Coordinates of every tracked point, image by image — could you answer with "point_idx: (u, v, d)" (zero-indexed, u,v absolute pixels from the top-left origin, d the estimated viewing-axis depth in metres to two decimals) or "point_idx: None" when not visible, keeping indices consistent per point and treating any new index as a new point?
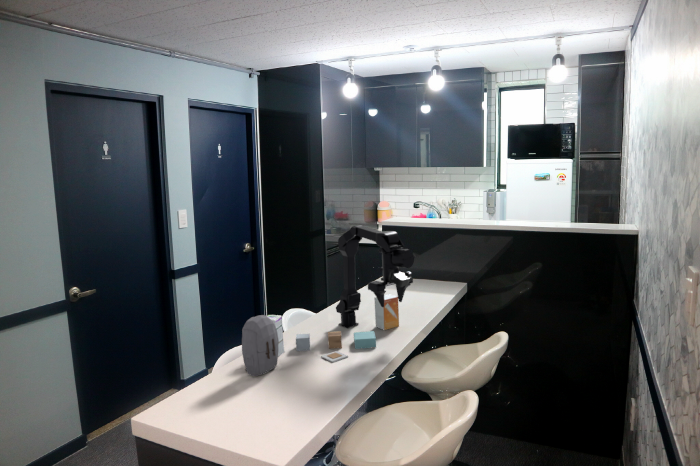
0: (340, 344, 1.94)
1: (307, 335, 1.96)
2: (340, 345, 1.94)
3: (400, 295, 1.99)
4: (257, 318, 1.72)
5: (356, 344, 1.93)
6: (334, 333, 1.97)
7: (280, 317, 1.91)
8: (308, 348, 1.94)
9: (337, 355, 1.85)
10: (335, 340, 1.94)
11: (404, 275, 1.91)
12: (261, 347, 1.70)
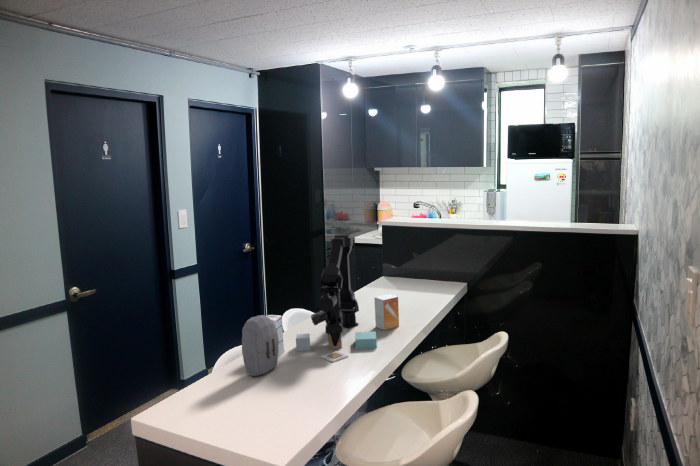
0: (340, 344, 1.94)
1: (307, 335, 1.96)
2: (340, 345, 1.94)
3: None
4: (257, 318, 1.72)
5: (357, 344, 1.92)
6: None
7: (280, 317, 1.91)
8: (308, 348, 1.94)
9: (337, 355, 1.85)
10: None
11: None
12: (261, 347, 1.70)
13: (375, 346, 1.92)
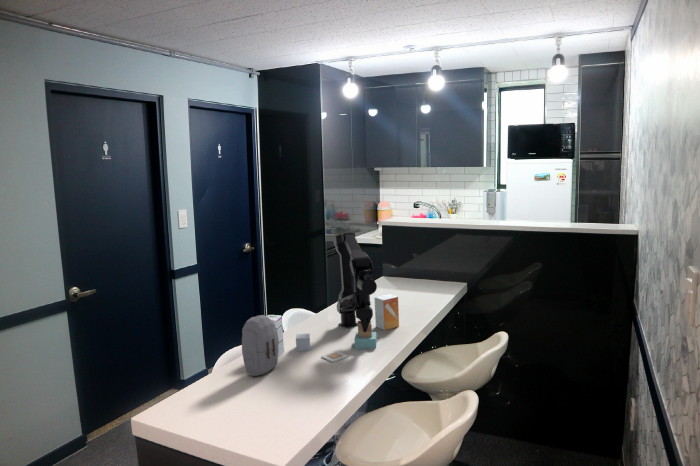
0: (370, 333, 1.94)
1: (307, 335, 1.96)
2: (370, 334, 1.94)
3: None
4: (257, 318, 1.72)
5: (356, 344, 1.93)
6: None
7: (280, 317, 1.91)
8: (308, 348, 1.94)
9: (337, 355, 1.85)
10: None
11: None
12: (261, 347, 1.70)
13: (374, 346, 1.92)
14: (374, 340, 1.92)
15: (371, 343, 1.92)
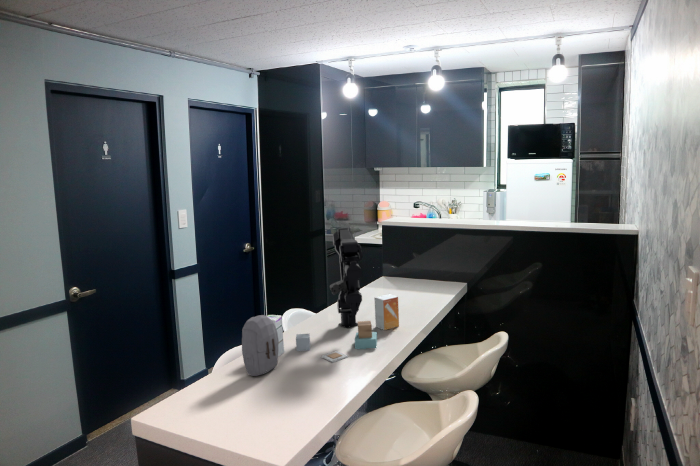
0: (370, 333, 1.93)
1: (307, 335, 1.96)
2: (370, 334, 1.93)
3: None
4: (257, 318, 1.72)
5: (356, 344, 1.92)
6: (364, 322, 1.96)
7: (280, 317, 1.91)
8: (308, 348, 1.94)
9: (337, 355, 1.85)
10: (365, 329, 1.93)
11: None
12: (261, 347, 1.70)
13: (374, 347, 1.92)
14: (374, 340, 1.92)
15: (371, 343, 1.92)
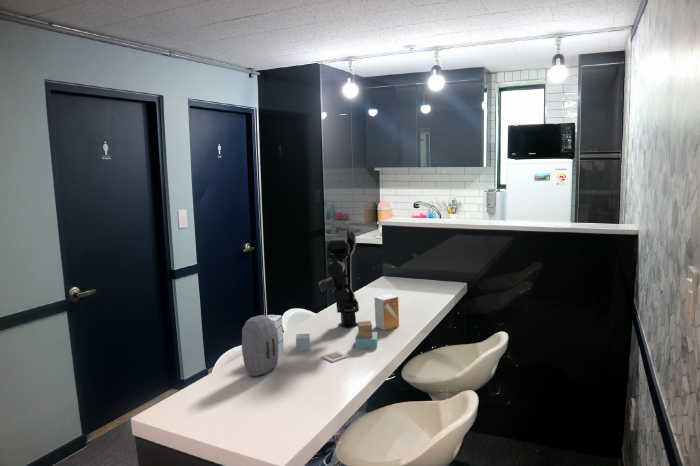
0: (371, 333, 1.93)
1: (307, 335, 1.96)
2: (371, 334, 1.93)
3: None
4: (257, 318, 1.72)
5: (357, 344, 1.92)
6: (364, 322, 1.95)
7: (280, 317, 1.91)
8: (308, 348, 1.94)
9: (337, 355, 1.85)
10: (366, 329, 1.93)
11: None
12: (261, 347, 1.70)
13: (375, 347, 1.92)
14: (375, 340, 1.92)
15: (372, 343, 1.92)
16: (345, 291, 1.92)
